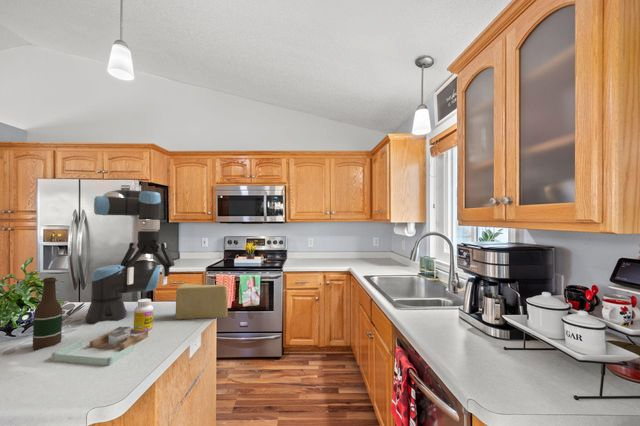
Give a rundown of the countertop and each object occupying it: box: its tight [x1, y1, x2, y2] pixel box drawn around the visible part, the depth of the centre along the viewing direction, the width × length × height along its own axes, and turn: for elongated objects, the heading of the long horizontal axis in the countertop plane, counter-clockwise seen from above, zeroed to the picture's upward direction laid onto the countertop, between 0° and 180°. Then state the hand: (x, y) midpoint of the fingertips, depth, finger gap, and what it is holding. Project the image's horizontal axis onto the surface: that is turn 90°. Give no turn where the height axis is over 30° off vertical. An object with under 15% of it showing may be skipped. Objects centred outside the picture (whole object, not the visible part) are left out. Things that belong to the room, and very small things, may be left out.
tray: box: [51, 340, 134, 366], centre depth 99 cm, size 10×20×3 cm, turn 83°
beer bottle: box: [32, 276, 63, 352], centre depth 107 cm, size 8×8×24 cm
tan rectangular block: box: [175, 283, 229, 320], centre depth 143 cm, size 22×10×15 cm, turn 93°
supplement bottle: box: [132, 298, 154, 334], centre depth 122 cm, size 7×7×13 cm
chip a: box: [112, 326, 131, 339], centre depth 112 cm, size 4×4×4 cm
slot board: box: [88, 330, 149, 351], centre depth 110 cm, size 12×13×3 cm
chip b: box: [108, 331, 128, 349], centre depth 107 cm, size 4×4×4 cm
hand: (147, 284), depth 120 cm, fingers open, 13 cm apart
